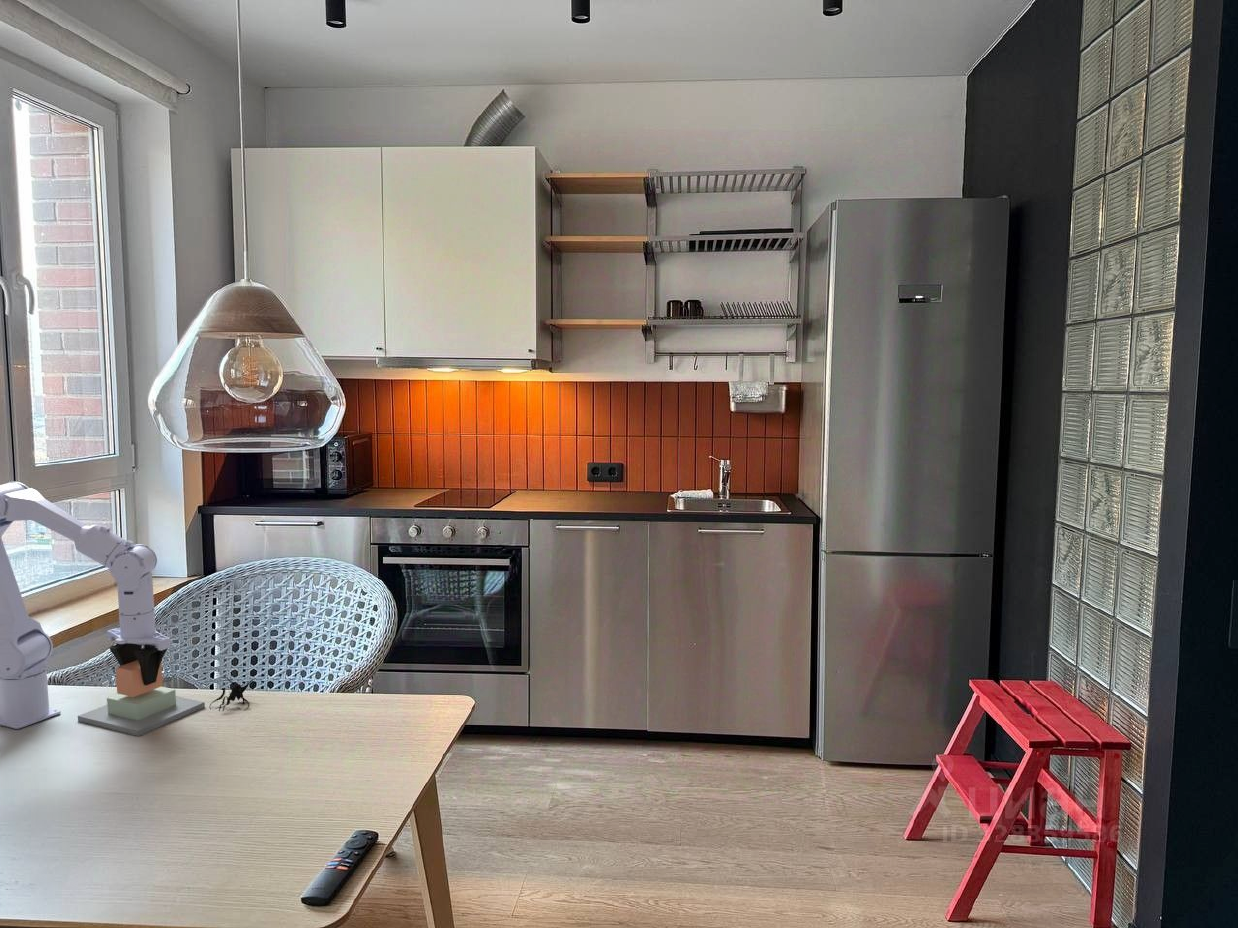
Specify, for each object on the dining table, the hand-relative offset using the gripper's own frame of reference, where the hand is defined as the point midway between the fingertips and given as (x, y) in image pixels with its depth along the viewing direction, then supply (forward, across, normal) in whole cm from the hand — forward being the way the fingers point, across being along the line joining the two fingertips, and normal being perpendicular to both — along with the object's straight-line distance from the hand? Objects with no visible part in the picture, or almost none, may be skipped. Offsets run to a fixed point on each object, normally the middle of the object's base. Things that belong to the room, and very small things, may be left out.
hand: (140, 681), depth 155 cm
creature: (+7, +12, +9) cm, 17 cm away
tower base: (+6, 0, 0) cm, 6 cm away
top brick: (+2, 0, 0) cm, 2 cm away
